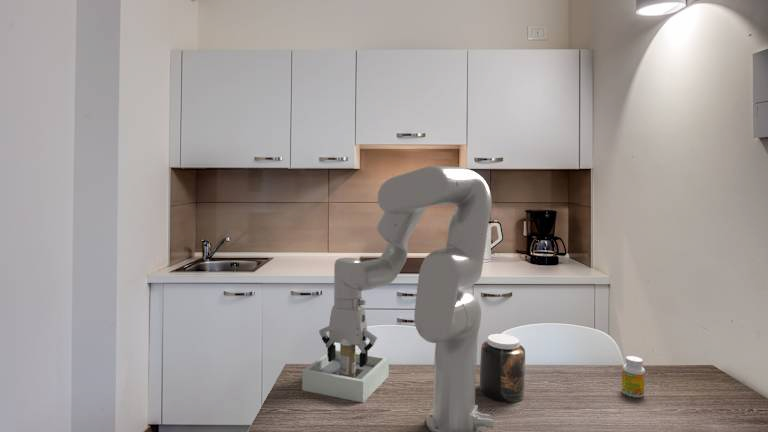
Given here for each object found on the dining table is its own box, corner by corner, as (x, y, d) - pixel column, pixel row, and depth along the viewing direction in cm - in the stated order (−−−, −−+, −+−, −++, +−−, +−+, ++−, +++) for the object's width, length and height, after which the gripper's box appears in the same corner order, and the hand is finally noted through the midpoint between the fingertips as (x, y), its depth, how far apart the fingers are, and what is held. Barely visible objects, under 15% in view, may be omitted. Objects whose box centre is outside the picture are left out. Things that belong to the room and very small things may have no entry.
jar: (474, 397, 124) (476, 341, 123) (484, 380, 135) (486, 329, 134) (520, 406, 120) (522, 349, 118) (527, 388, 130) (529, 335, 129)
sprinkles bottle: (358, 384, 131) (359, 337, 130) (344, 388, 129) (344, 340, 128) (350, 378, 135) (351, 332, 134) (336, 382, 133) (337, 335, 132)
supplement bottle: (621, 395, 127) (622, 360, 126) (621, 387, 132) (623, 353, 131) (643, 399, 124) (645, 363, 124) (643, 391, 129) (645, 357, 129)
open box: (388, 376, 137) (388, 357, 137) (363, 402, 121) (363, 381, 120) (333, 366, 144) (333, 348, 143) (302, 390, 127) (302, 370, 127)
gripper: (381, 302, 131) (380, 362, 132) (326, 296, 137) (326, 353, 138) (371, 309, 124) (370, 372, 125) (313, 302, 130) (313, 362, 131)
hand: (347, 362), depth 132 cm, fingers open, 9 cm apart
